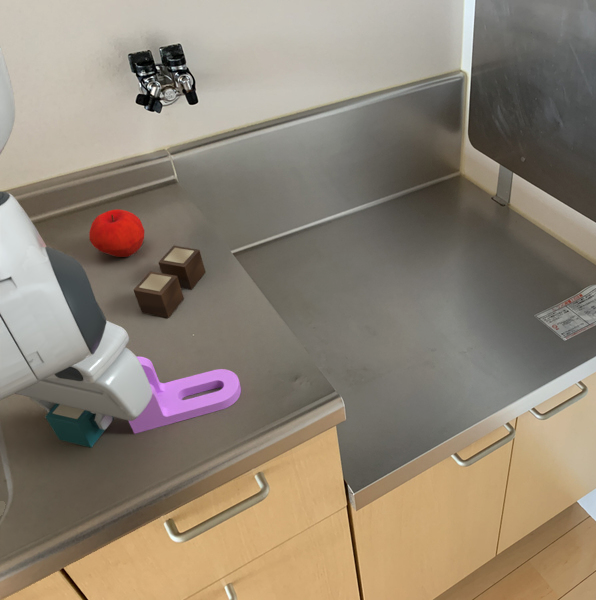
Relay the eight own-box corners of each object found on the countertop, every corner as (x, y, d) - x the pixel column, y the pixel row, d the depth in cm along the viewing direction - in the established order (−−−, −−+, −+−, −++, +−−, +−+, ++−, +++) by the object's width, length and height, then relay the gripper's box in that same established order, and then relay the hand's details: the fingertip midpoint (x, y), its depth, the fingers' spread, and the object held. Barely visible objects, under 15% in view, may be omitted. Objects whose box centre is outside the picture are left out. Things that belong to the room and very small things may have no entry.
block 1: (191, 290, 92) (184, 266, 89) (165, 285, 93) (157, 261, 90) (205, 272, 95) (199, 249, 92) (180, 267, 96) (173, 244, 93)
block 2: (168, 318, 87) (160, 294, 84) (141, 313, 88) (132, 289, 85) (184, 298, 91) (177, 275, 88) (158, 293, 91) (149, 270, 88)
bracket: (134, 433, 72) (116, 395, 68) (132, 399, 76) (115, 361, 72) (244, 403, 76) (234, 365, 71) (237, 371, 80) (227, 333, 75)
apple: (94, 270, 96) (78, 231, 91) (102, 241, 101) (87, 203, 97) (147, 264, 97) (134, 225, 92) (152, 235, 103) (140, 198, 98)
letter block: (91, 447, 71) (78, 424, 68) (59, 439, 72) (44, 415, 69) (114, 418, 74) (102, 394, 71) (82, 411, 75) (69, 386, 72)
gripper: (-72, 338, 62) (-12, 421, 71) (103, 376, 58) (143, 460, 68) (-25, 298, 67) (26, 382, 76) (140, 332, 63) (173, 415, 72)
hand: (82, 419), depth 72 cm, fingers closed on letter block, 4 cm apart
